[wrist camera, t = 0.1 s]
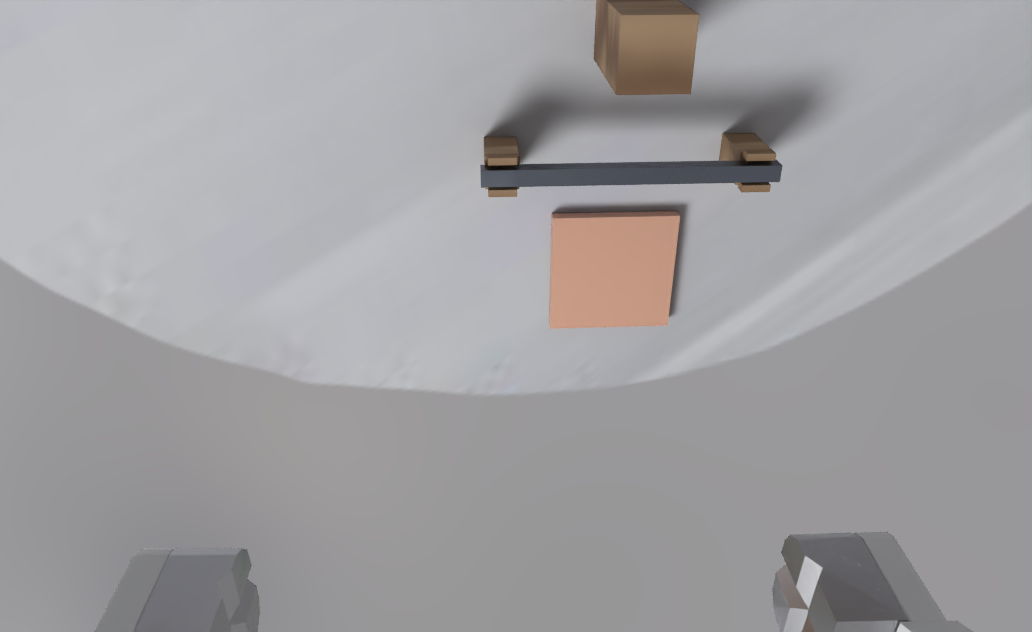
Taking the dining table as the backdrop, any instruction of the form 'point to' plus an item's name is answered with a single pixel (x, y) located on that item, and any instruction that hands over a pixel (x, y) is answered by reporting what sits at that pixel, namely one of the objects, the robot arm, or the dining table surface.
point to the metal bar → (630, 173)
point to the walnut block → (646, 45)
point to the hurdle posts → (731, 150)
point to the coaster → (612, 268)
